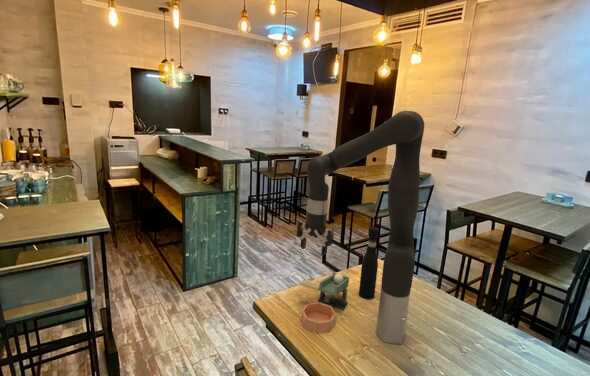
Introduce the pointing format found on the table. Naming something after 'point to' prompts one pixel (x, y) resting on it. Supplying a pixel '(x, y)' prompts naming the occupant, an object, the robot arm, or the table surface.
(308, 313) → the pink octagonal bowl
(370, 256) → the wine bottle
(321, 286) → the chute
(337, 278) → the ball
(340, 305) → the chute stand
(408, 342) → the table surface
